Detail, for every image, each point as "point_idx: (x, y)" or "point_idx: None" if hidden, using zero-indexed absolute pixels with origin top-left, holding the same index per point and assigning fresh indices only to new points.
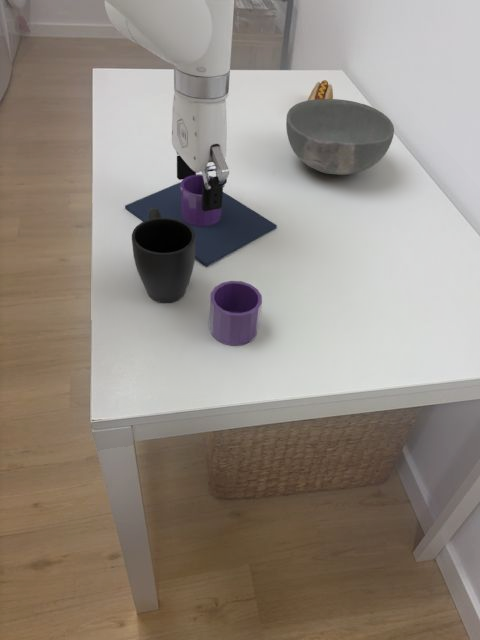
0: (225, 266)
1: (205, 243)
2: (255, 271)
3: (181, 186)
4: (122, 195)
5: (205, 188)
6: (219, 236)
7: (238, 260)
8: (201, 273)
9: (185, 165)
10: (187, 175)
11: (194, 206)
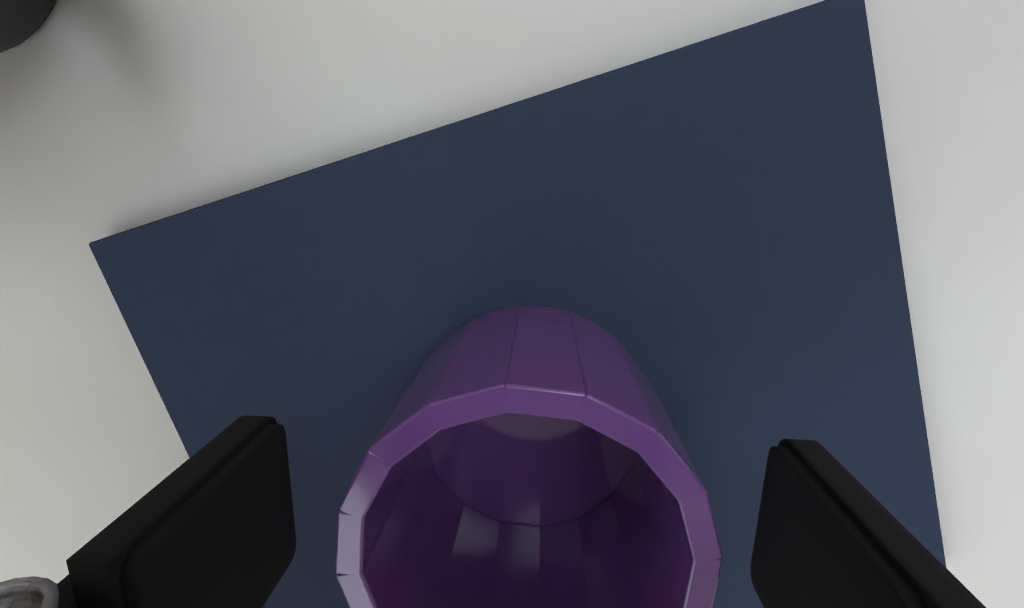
0: (91, 335)
1: (263, 320)
2: (25, 446)
3: (571, 396)
4: (1018, 41)
5: (73, 576)
6: (302, 419)
7: (123, 415)
8: (62, 192)
9: (831, 594)
10: (770, 530)
11: (411, 391)
